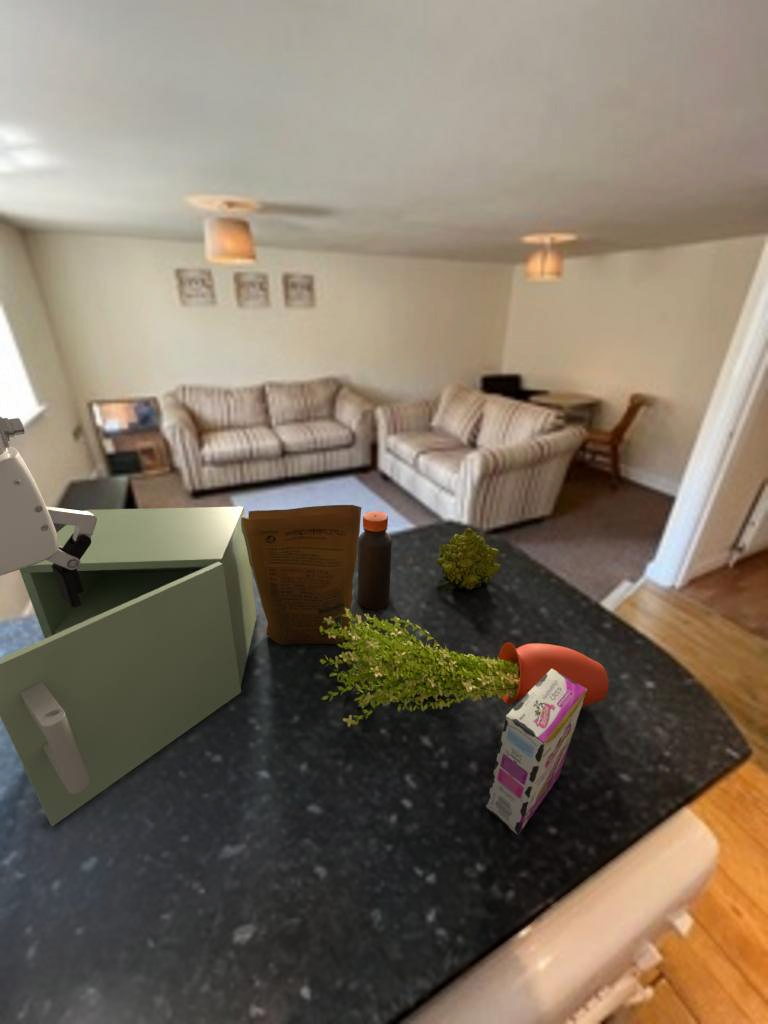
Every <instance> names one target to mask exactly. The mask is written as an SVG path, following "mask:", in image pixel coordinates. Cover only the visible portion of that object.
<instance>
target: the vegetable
mask: <svg viewBox="0 0 768 1024" xmlns="http://www.w3.org/2000/svg"><path fill="white" fill-rule="evenodd" d="M499 552H500V549H497V548H495V547H491V546H490V544H486V540H485V538H484V535H478V532H476V531H474V530H473V529H472V528H471V527H466V528H465V530H464V532H463V533H462V534H458V533H455V534H454V535H453V536H452V537H451V538H450V540H449V542H448V543H444V544H440V545H439V558H436V559H435V561H436V563H437V564H438V566H439V567H441V570H442V574H443V575H442V578H443V584H438V585H437V586H436V592H442V591H444V590H445V589H447V590H448V591H452V590H454V589H455V588H456V589H460V590H462V589H464V588H465V590H466V591H471V590H473V589H477V588H480V587H481V586H482V584H483V583H484V584H487V582H488V581H489V580H491V579H492V578H493V577H494V576H496V574H497V573H498V571H499V570H500V568H501V566H502V564H501V563H497V562H495V561H496V559H497V557H498V554H499ZM475 587H477V588H475Z"/></svg>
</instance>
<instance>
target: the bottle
mask: <svg viewBox="0 0 768 1024" xmlns="http://www.w3.org/2000/svg"><path fill="white" fill-rule="evenodd" d="M388 527H389V516H388V515H387V513H385V512H382V511H379V510H372V511H367V512H365V513H364V514H363V515H362V529H363V532H361V534H359V538H358V547H357V603H358V604H359V605H360V606H361V607H362V608H365V609H368V610H380V609H382V608H385V607H386V606H387V605H388V604H389V602H390V595H391V571H392V570H391V569H392V547H393V546H392V545H393V541H392V537H391V535H390V534H389V533H388V532H387V530H388Z"/></svg>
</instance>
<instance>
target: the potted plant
mask: <svg viewBox="0 0 768 1024" xmlns="http://www.w3.org/2000/svg"><path fill="white" fill-rule="evenodd" d="M345 611H346V614H343V615H342V616H343V617H349V619H350V617H351V619H350V621H351V622H350V621H349V622H348V624H349V625H350V626H349V630H350V629H351V631H347V627H346V626H345V627H344V629H342V627H341V625H340V624H339V623H338V625H339V627H340V628H337V629H339V630H337V629H335V630H334V628H333V627H334V626H338V625H337V624H336V623H335V622H334V619H333V621H331V619H332V618H333V617H331V616H330V617H329V618H328V619H327V618H324V620H326V621H323V622H322V623H324V622H327V624H328V625H330V624H332V625H333V626H332V628H331V630H330V628H328V629H327V630H325V629H323V627H322V626H320V632H321V634H324V633H322V631H323V632H325V633H327V634H328V637H329V638H331V637H332V638H334V639H335V638H336V636H337V635H338V636H339V638H341V637H342V636H344V637H345V638H346V640H347V642H345V641H343V640H342V641H343V642H342V644H341V643H339V644H336V645H337V646H338V647H339V648H342V649H345V650H348V649H350V650H351V651H352V652H351V651H345V652H344V651H341V654H339V655H336V656H335V660H334V659H332V657H329V658H328V657H327V655H326V654H324V656H325V658H326V660H325V659H323V658H321V659H320V660H319V662H320V663H321V665H324V664H325V663H326V664H325V667H327V666H331V665H332V666H333V665H334V667H335V669H333V671H334V672H331V673H330V674H329V676H328V677H334V676H336V681H337V682H338V683H343V685H345V686H344V687H345V688H344V687H343V686H338V685H337V686H336V687H337V689H338V691H340V693H339V692H338V691H335V692H333V691H327V693H328V694H329V695H331V697H330V696H328V695H325V696H322V698H321V700H322V701H327V699H328V698H329V697H330V698H329V701H328V702H331V701H332V700H333V697H335V696H338V694H339V696H340V697H341V696H342V695H343V693H346V692H347V691H351V690H352V689H353V688H356V691H357V692H355V694H356V695H359V694H361V695H360V696H359V697H355V698H354V700H353V701H354V702H357V701H358V702H357V703H358V707H359V708H360V707H361V712H362V713H363V714H364V715H365V720H367V719H368V717H369V716H370V715H372V713H373V710H374V711H375V710H376V707H378V706H380V705H381V704H382V707H386V704H387V706H388V705H389V704H390V703H391V702H393V704H395V703H399V702H402V704H398V706H397V711H398V712H400V711H403V710H405V709H406V710H408V711H410V712H414V711H416V709H418V710H421V711H422V712H424V711H425V710H428V708H430V707H431V709H433V710H435V709H436V710H437V709H438V708H439V710H443V707H448V708H450V706H451V704H453V703H455V704H459V705H460V704H461V702H462V701H464V700H465V699H466V700H467V699H469V700H472V701H473V702H476V701H479V700H480V701H483V697H484V696H486V698H487V699H489V698H492V697H493V696H494V697H495V698H497V697H498V699H499V700H502V701H503V702H504V703H505V705H513V704H514V702H516V700H517V701H518V702H520V701H521V700H522V698H523V697H524V696H525V695H526V694H527V693H528V692H529V691H530V690H531V689H532V688H533V687H534V686H535V685H536V684H537V683H538V682H539V681H540V680H541V679H542V678H543V677H544V676H545V675H546V674H547V673H548V672H549V671H550V670H551V669H554V670H555V671H557V672H559V673H560V674H562V675H563V676H565V677H567V678H569V679H570V680H572V681H574V682H576V683H578V684H579V685H581V686H583V687H584V688H586V689H587V692H586V695H585V698H584V701H583V704H582V707H581V709H583V708H585V707H587V706H590V705H593V704H595V703H598V702H601V701H603V700H604V699H605V698H606V697H607V695H608V692H609V687H610V686H609V685H610V683H609V676H608V673H607V671H606V669H605V667H604V666H603V665H602V664H601V663H600V662H599V661H596V660H594V659H592V658H590V657H588V656H587V655H585V654H583V653H581V652H579V651H577V650H575V649H571V648H569V647H565V646H560V645H556V644H548V643H539V642H538V643H537V642H536V643H535V642H533V643H526V644H523V645H521V646H518V647H517V648H516V647H515V645H514V644H513V643H511V642H508V641H507V642H505V643H504V644H503V645H502V646H501V648H500V651H499V654H498V656H497V659H496V657H494V656H493V658H490V656H489V655H487V658H486V657H485V656H482V657H481V656H480V655H478V656H475V655H474V654H472V653H468V654H465V653H464V652H462V653H458V652H457V651H454V650H451V651H450V650H449V648H448V647H447V645H445V647H443V646H442V645H441V643H440V642H439V641H438V640H437V639H436V638H435V636H433V635H431V634H430V632H428V631H427V629H422V627H421V626H419V625H418V624H413V623H412V622H410V620H409V619H407V620H404V619H400V618H399V617H398V616H396V615H394V617H391V618H390V619H389V620H390V621H392V622H395V623H394V624H393V623H391V622H389V620H388V619H387V618H385V620H384V619H381V620H379V618H378V617H377V616H376V614H373V617H371V615H370V614H369V613H364V614H363V615H364V617H366V621H362V616H361V615H360V614H359V615H358V614H357V613H356V614H355V617H354V616H353V613H352V612H351V611H350V612H349V609H347V608H345ZM353 621H354V622H355V623H354V622H353ZM356 621H357V622H356ZM367 621H368V622H369V623H368V622H367ZM371 623H373V624H371ZM401 623H402V624H404V626H403V627H401ZM409 625H410V626H411V627H412V629H411V630H412V632H415V631H416V630H418V629H419V631H420V632H419V636H420V637H422V636H423V635H424V634H427V635H426V641H427V642H428V641H430V640H433V641H434V644H433V645H432V646H433V647H431V644H430V643H427V642H426V643H425V645H424V642H423V641H422V640H421V639H418V640H417V637H416V636H415V635H414V634H413V633H412V634H410V633H409V631H408V630H407V628H408V627H409ZM329 631H330V632H329ZM333 631H334V632H333ZM381 631H383V633H384V634H383V633H382V632H381ZM340 632H341V634H340ZM348 636H350V637H348ZM340 658H341V659H340ZM327 662H328V663H327ZM344 663H346V664H347V665H348V666H350V665H352V667H351V669H348V670H347V671H345V670H342V671H340V670H339V665H343V664H344ZM356 664H357V665H356ZM339 671H340V672H339ZM366 681H367V683H368V684H369V685H367V684H365V682H366ZM357 682H358V683H360V684H361V685H359V684H358V683H357ZM361 686H362V687H361ZM380 687H381V688H380ZM370 691H371V692H372V691H374V692H373V693H372V694H371V692H370ZM416 695H417V696H416ZM451 695H452V696H454V698H449V697H450V696H451ZM439 696H440V697H443V696H444V697H445V698H446V699H444V700H443V699H442V698H438V697H439ZM430 697H432V698H433V699H435V701H433V702H431V701H428V700H429V698H430ZM425 700H426V701H427V702H425V703H424V701H425ZM411 701H412V702H413V703H412V704H411ZM386 702H387V703H386ZM403 703H404V704H403ZM409 703H410V704H409ZM369 704H370V706H371V707H372V708H373V709H370V710H368V709H365V707H367V706H368V705H369ZM407 705H408V706H407ZM413 705H414V706H413ZM419 706H420V707H419ZM364 715H356V714H355V715H352V714H349V715H348V718H346V717H343V718H342V721H343V722H344V723H347V727H348V728H350V727H351V725H355V726H357V725H358V724H359V722H360V721H359V720H363V719H364ZM353 718H354V719H355V720H354V719H353Z"/></svg>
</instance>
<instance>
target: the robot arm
mask: <svg viewBox="0 0 768 1024" xmlns="http://www.w3.org/2000/svg"><path fill="white" fill-rule="evenodd" d="M24 434H25V428H24V425H23V423H22V421H21V419H20V418H19V417H16V418H15V417H14V418H8V417H2V416H0V577H1V576H4V575H7V574H10V573H13V572H17V571H20V570H19V569H22V568H25V567H28V566H31V565H34V564H37V563H39V562H42V561H44V560H48V561H50V562H52V563H53V565H52V569H53V572H54V575H55V578H56V581H57V585H58V588H59V591H60V594H61V596H62V598H63V599H64V600H65V601H66V602H67V603H68V604H69V605H70V606H71V607H74V608H76V607H78V606H81V603H80V599H79V596H78V594H79V593H81V592H83V588H82V584H81V581H80V578H79V574H78V571H77V568H78V567H79V566H80V559H81V558H82V556H83V555H84V553H85V552H86V550H87V549H88V547H89V546H90V544H91V536H92V535H93V532H94V529H95V525H96V522H97V518H96V517H95V516H94V515H93V514H91V513H90V512H86V511H83V510H78V509H69V508H62V507H54V506H47V504H46V502H45V500H44V498H43V495H42V493H41V491H40V489H39V486H38V485H37V482H36V480H35V478H34V476H33V475H32V473H31V471H30V469H29V467H28V465H27V464H26V461H25V460H24V459H23V456H22V455H21V454H20V452H19V451H18V450H17V448H16V447H14V446H10V445H9V442H10V441H11V440H10V438H11V439H12V438H15V436H20V435H24ZM55 525H64V526H66V525H74V526H75V528H74V530H75V531H74V533H73V534H72V535H71V537H70V538H69V540H68V541H67V542H66V544H65V545H64V547H61V546H59V540H58V536H57V532H58V531H57V529H56V527H55Z"/></svg>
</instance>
